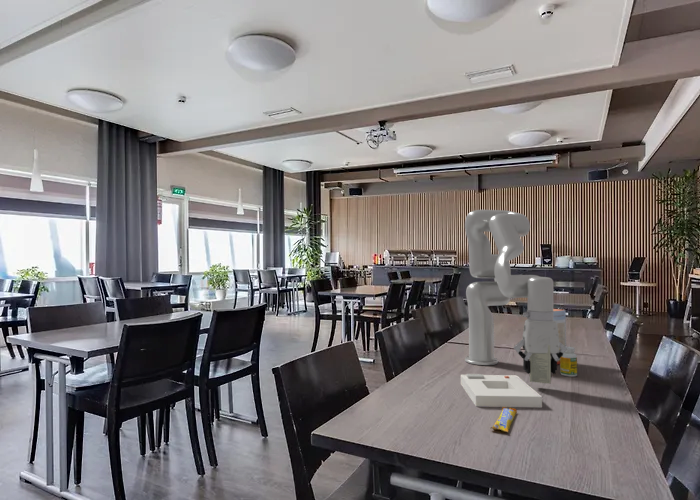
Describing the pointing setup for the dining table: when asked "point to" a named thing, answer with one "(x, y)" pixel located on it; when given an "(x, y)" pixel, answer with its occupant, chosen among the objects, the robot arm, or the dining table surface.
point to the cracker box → (560, 326)
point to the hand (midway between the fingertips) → (540, 372)
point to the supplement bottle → (568, 363)
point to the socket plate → (500, 391)
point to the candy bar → (505, 419)
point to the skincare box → (540, 367)
